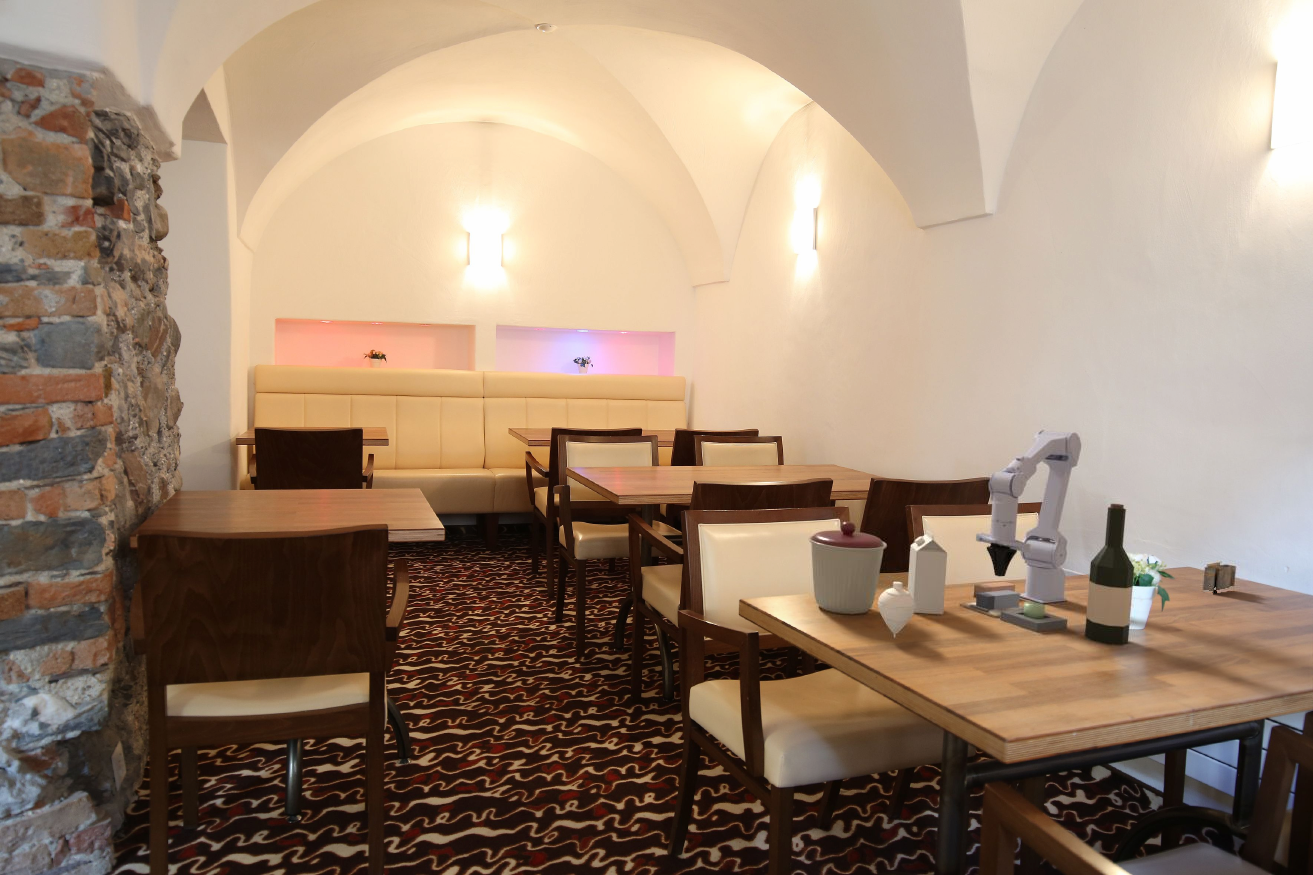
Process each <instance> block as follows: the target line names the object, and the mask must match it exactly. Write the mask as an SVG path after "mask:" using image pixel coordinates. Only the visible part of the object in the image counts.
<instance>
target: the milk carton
mask: <svg viewBox="0 0 1313 875" xmlns="http://www.w3.org/2000/svg"><path fill="white" fill-rule="evenodd" d="M934 536H935V535H934V534H933V533H931V532H930V531H929V530H927V529H926V530H925V534H924V535H922V536H921V535H920V536H918V537H917V538H916V539H914V542H912V544H910V551H909V561H908V562H909V563H908V564H909V566H908V578H907V579H908V580H907V592H909V593H910V595H911V596H912V597H913V599H914V601H915V611H914V614H915V613H916V614H917V613H919V614H927V615H929V614H931V615H932V614H933V615H944V605H945V604H944V603H945V590H946V577H947V576H946V575H947V564H948V563H947V561H948V552H947V551H946V550H945V549H944V548H943V547H942V546H940V545H939V544H938V543H937V542H936V540H934Z"/></svg>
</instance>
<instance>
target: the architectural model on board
mask: <svg viewBox="0 0 1313 875" xmlns="http://www.w3.org/2000/svg"><path fill="white" fill-rule="evenodd" d="M1236 571H1237V565H1231V564H1226V563H1225V564H1222V561H1219V562H1218V561H1217V562H1213V563H1208V564H1206V566H1204V573H1203V574H1204V575H1203V583H1202V584H1203V586H1202V591H1203V590H1209V591H1213V592H1215V591H1214V588H1215V587H1216V590H1220V589H1225V588H1229V587H1230V586H1234V587H1235V586H1236V585H1235V583H1236V573H1237V572H1236Z"/></svg>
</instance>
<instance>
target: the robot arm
mask: <svg viewBox="0 0 1313 875" xmlns="http://www.w3.org/2000/svg"><path fill="white" fill-rule="evenodd" d="M1081 450H1082V442H1081V438H1080V436H1079V434H1078V433H1077V432H1061V431H1049V430H1044V429H1041V430H1039V431H1037V433H1036V434H1035V435H1034V438H1033V445H1032V446H1031V447H1030V449H1029V450H1028V451H1027V452H1026V453H1025V455H1017V456H1016V457H1015V458H1014V459H1013V460H1012V461H1011V462H1010V463H1009V464H1008V465H1006V467H1005V468H1004V469H1003V470H1002V471H996V472H995V473H993V474H991V476H990V479H989V482H988V490H989V492H990V501H992V503H991V504H992V505H991V518H990V530H989V531H990V533H989V534H986V533H984V532H981V533H980V532H979V533H978V532H977V533H976V535H975V536H976V538H975V542H979V543H980V542H981V543H986V544H989V545H987V546H986V551H987V553H988V554H989V556H990V559H991V563H992V567H993V572H994V576H996V577H1005V576H1006V573H1007V571H1008V567H1009V565H1010V563H1011V561H1012V560H1013V558H1014V557H1015V555H1016V554H1017V552H1020V556H1021V558H1022V560H1023V561H1024V564H1025V565H1026V576H1025V588H1024V592H1023V593H1022V592H1021V593H1020V598H1023V599H1026V600H1030V601H1032V602H1036V603H1041V604H1046V603H1057V602H1058V603H1059V602H1065V601H1067V600H1068V599H1067V598H1065V588H1066V587H1065V586H1066V572H1065V570H1064V569H1063V567H1062V565H1064V563H1065V562H1066V559H1067V554H1068V553H1067V552H1068V551H1067V545H1068V540H1067V538H1066V537H1065V536H1064V535H1063V534H1062V532H1060V531H1059V527H1060V523H1061V518H1062V515H1063V514H1062V513H1063V509H1064V505H1065V499H1066V496H1067V491H1068V486H1069V482H1070V477H1071V472H1072V468H1075V467H1077V466H1078V462H1079V459H1080V455H1081ZM1041 462H1042V463H1043V464H1046V465H1047V466H1048V468H1049V469H1048V470H1049V472H1048V475H1047V479H1046V480H1047V481H1046V484H1045V488H1044V494H1043V498H1042V503H1041V507H1040V511H1039V515H1038V520H1037V524H1036V526H1035V527H1032V528H1031V529H1028V530H1026V532H1025V536H1024V539H1023V540H1022V541H1020V540H1018V539H1016V535H1017V533H1016V532H1017V520H1018V507H1019V506H1018V505H1019V497H1020V496H1022V495H1023V493H1024V490H1025V487H1026V486H1027V482H1028V481H1029V480H1030V479H1031V478H1032V477H1033V476H1034V475H1035V473H1036V472H1037V465H1039V464H1040V463H1041Z"/></svg>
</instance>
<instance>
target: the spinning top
mask: <svg viewBox="0 0 1313 875" xmlns="http://www.w3.org/2000/svg"><path fill="white" fill-rule="evenodd" d="M892 585H893V586H892V587H890V588H888V589H886V590H884V591H883V592H882V593H881V594H880V596H879V597H878V600H877V607H878V610H879V613H880V615H881V617H882V619H883V621H884V622H885V624H886V626H887V627H888V629H889V630H890V631H891V633H893V639H896V635H897V634H898V633H899V632H901V630H902V629H903V628H904V627H905V626H906V625H907V623H908V622H910V620H911V618H912V617H913V615H914V614H915V612H914V611H915V601H914V599H913V597H912V596H911V595H910V593H909V592H908V590H905V589H903V582H901V581H893V582H892Z"/></svg>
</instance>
